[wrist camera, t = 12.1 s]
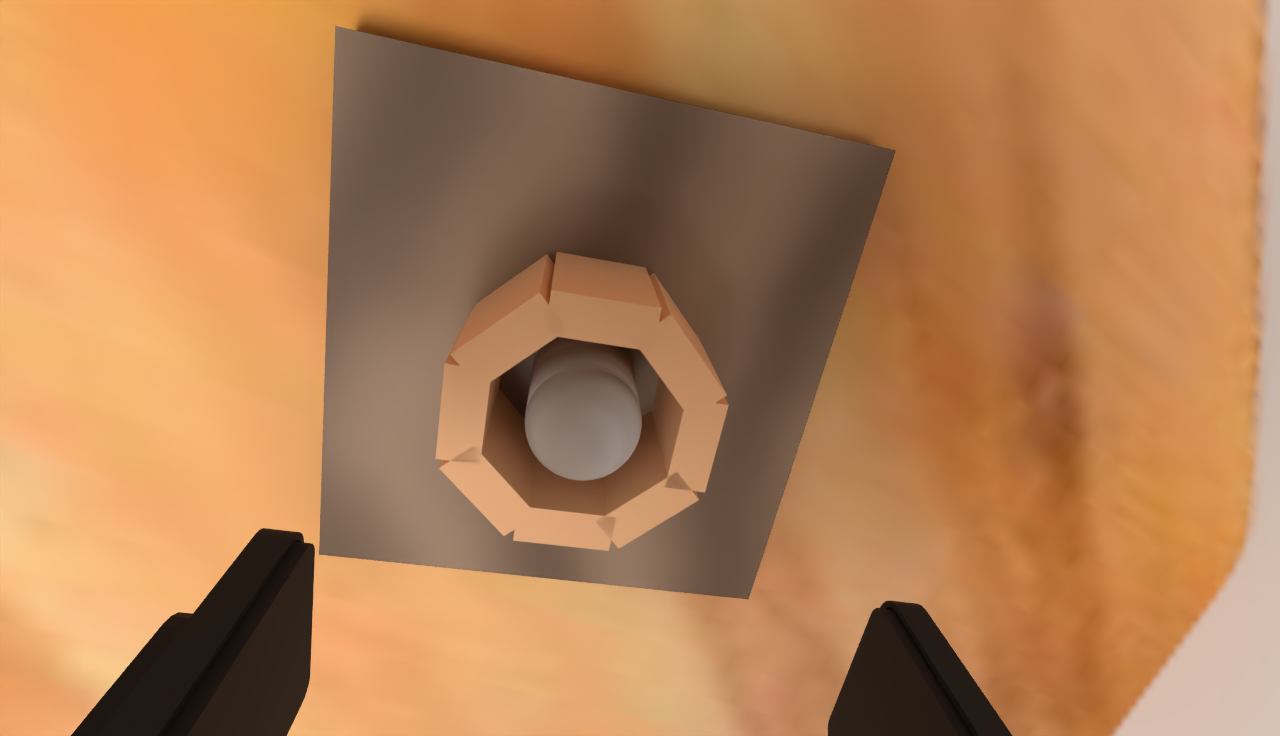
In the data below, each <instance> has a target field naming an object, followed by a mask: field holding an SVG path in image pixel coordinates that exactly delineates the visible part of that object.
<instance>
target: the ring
mask: <svg viewBox="0 0 1280 736" xmlns="http://www.w3.org/2000/svg"><path fill="white" fill-rule="evenodd" d="M556 337H562V338H568V339H575V340H581V341H588V342H594V343H600V344H607V345H613V346H620V347H626V348H633V349H639V350H641V352H642V353H643V355H644V356H645V357H646V359H647V360H648V361H649V363H650V364H651V366H652V367H653V368H654V370H655V371H656V372H657V374H658V375H659V380H658V385H657V389H656V394H655V398H654V402H653V407H652V410H651V411H650V412H648V413H647V414H645V415H644V416H642V428H641V434H640V438H639V441H638V444H637V446H636V448H635V450H634V452H633V453H632V455H631V456H630V458H629V459H628V460H627V461H626V462H625V463H624V464H623V465H622V466H621V467H620V468H618V469H617V470H616V471H614V472H613V473H611V474H609V475H607V476H604V477H602V478H598V479H594V480H585V481H580V480H572V479H567V478H564V477H561V476H559V475H557V474H555V473H553V472H552V471H550V470H549V469H547V468H546V467H545V466H544V465H543V464H542V463H541V462H540V461H539V460H538V459H537V457H536V456H535V455H534V453H533V451H532V450H531V448H530V446H529V443H528V440H527V437H526V432H525V418H524V417H523V416H522V415H521V414H520V413H519V411H518V410H517V409H516V408H515V407H514V406H513V404H512V403H511V402H510V401H509V400H508V399H507V397H506V396H505V395H504V394H503V393H502V391H501V390H500V389H499V386H500V378H501V375H502V374H503V373H505V372H506V371H508V370H509V369H510V368H512V367H513V366H515V365H516V364H518V363H519V362H521V361H522V360H524V359H525V358H527V357H528V356H530V355H531V354H533V353H534V352H536V351H537V350H539V349H540V348H542V347H543V346H545V345H546V344H547V343H549V342H550V341H552V340H553V339H555V338H556ZM725 396H727V394H726V392H725V390H724V388H723V386H722V384H721V382H720V380H719V378H718V376H717V374H716V372H715V370H714V368H713V366H712V364H711V362H710V360H709V358H708V356H707V354H706V352H705V350H704V348H703V346H702V344H701V342H700V340H699V338H698V337H697V335H696V334H695V332H694V331H693V330H692V328H691V327H690V325H689V324H688V322H687V321H686V319H685V318H684V316H683V315H682V313H681V312H680V310H679V309H678V307H677V306H676V305H675V303H674V302H673V300H672V299H671V297H670V296H669V294H668V293H667V291H666V290H665V288H664V287H663V285H662V284H661V283H660V281H659V280H658V278H657V277H656V275H655V274H654V273H652V274H651V275H649V274H648V272H647V269H646V267H640V266H635V265H629V264H623V263H617V262H612V261H606V260H600V259H595V258H589V257H583V256H578V255H572V254H566V253H561V252H557V253H556V260H555V264H554V262H553V261H552V260H551V258H550V257H549V256H548V254H546V255H545V256H543V257H542V258H541V259H539V260H538V261H536V262H535V263H533V264H532V265H531V266H529V267H528V268H526V269H525V270H523V271H522V272H521V273H519V274H518V275H516V276H515V277H513V278H512V279H511V280H509V281H508V282H506V283H505V284H503V285H502V286H501V287H499V288H498V289H496V290H495V291H493V292H492V293H491V294H489V295H488V296H486V297H485V298H484V299H482V300H481V301H479V302H478V303H476V304H475V305H474V307H473V309H472V311H471V312H470V314H469V316H468V318H467V320H466V322H465V324H464V326H463V328H462V330H461V332H460V334H459V336H458V338H457V340H456V342H455V344H454V346H453V348H452V350H451V352H450V354H449V356H448V358H447V360H446V362H445V364H444V374H443V385H442V395H441V405H440V416H439V426H438V437H437V447H436V458H435V459H440V460H442V461H441V464H440V466H439V469H440V470H441V471H442V472H443V473H444V474H445V475H446V476H447V477H448V478H449V479H450V480H451V481H452V483H453V484H454V485H455V486H456V487H457V488H458V489H459V490H460V491H461V492H462V493H463V494H464V495H465V496H466V497H467V498H468V499H469V500H470V501H471V502H472V503H473V505H474V506H475V507H476V508H477V509H478V510H479V511H480V512H481V513H482V514H483V515H484V516H485V517H486V518H487V519H488V520H489V521H490V522H491V523H492V524H493V525H494V527H495V528H496V529H497V530H498V531H499V532H500V533H501V534H502V535H503V536H505V535H507V534H508V533H510V532H511V531H513V530H514V537H513V541H521V542H531V543H540V544H549V545H559V546H568V547H577V548H586V549H596V550H605V551H609V548H610V544H611V540H612V542H613V543H614V544H615V545H616V546H617V547H618V548H621V547H623V546H624V545H626V544H627V543H629V542H631V541H632V540H634V539H636V538H637V537H639V536H641V535H642V534H644V533H646V532H647V531H649V530H651V529H652V528H654V527H655V526H657V525H659V524H660V523H662V522H664V521H665V520H667V519H669V518H670V517H672V516H674V515H675V514H677V513H678V512H680V511H682V510H683V509H685V508H687V507H688V506H690V505H692V504H693V503H695V502H697V501H698V500H699V498H698V495H697V492H696V491H698V492H705V491H706V487H707V483H708V480H709V476H710V472H711V469H712V465H713V461H714V457H715V454H716V450H717V446H718V443H719V439H720V435H721V432H722V428H723V424H724V421H725V417H726V413H727V410H728V406H729V405H728V403H727V401H726V399H725Z"/></svg>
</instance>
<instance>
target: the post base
mask: <svg viewBox="0 0 1280 736" xmlns="http://www.w3.org/2000/svg"><path fill="white" fill-rule="evenodd" d="M895 151H896V150H891V149H887V148H882V147H878V146H873V145H869V144H864V143H860V142H855V141H851V140H846V139H842V138H837V137H833V136H828V135H824V134H819V133H815V132H810V131H806V130H801V129H797V128H792V127H788V126H783V125H779V124H774V123H770V122H765V121H761V120H756V119H752V118H747V117H743V116H738V115H734V114H729V113H725V112H720V111H716V110H711V109H707V108H702V107H698V106H693V105H688V104H684V103H679V102H675V101H670V100H666V99H661V98H657V97H652V96H648V95H643V94H639V93H634V92H630V91H625V90H621V89H616V88H612V87H607V86H603V85H598V84H594V83H589V82H585V81H580V80H576V79H571V78H567V77H562V76H558V75H553V74H549V73H544V72H540V71H535V70H531V69H526V68H522V67H517V66H513V65H508V64H504V63H499V62H495V61H490V60H486V59H481V58H477V57H472V56H468V55H463V54H459V53H454V52H450V51H445V50H441V49H436V48H432V47H427V46H423V45H418V44H414V43H409V42H405V41H400V40H396V39H391V38H387V37H382V36H378V35H373V34H369V33H364V32H360V31H355V30H351V29H346V28H342V27H337V26H336V27H335V60H334V92H333V125H332V157H331V189H330V222H329V254H328V287H327V319H326V352H325V384H324V417H323V449H322V482H321V514H320V547H319V555H329V556H339V557H348V558H358V559H367V560H377V561H387V562H396V563H406V564H415V565H425V566H435V567H444V568H454V569H463V570H473V571H483V572H492V573H502V574H511V575H521V576H531V577H540V578H550V579H559V580H569V581H579V582H588V583H598V584H607V585H617V586H627V587H636V588H646V589H655V590H665V591H675V592H684V593H694V594H704V595H713V596H723V597H732V598H742V599H749V596H750V593H751V590H752V587H753V583H754V580H755V577H756V574H757V571H758V568H759V565H760V562H761V559H762V556H763V553H764V550H765V547H766V544H767V541H768V538H769V535H770V532H771V529H772V526H773V523H774V519H775V516H776V513H777V510H778V507H779V504H780V501H781V498H782V495H783V492H784V489H785V486H786V483H787V480H788V477H789V474H790V471H791V468H792V465H793V462H794V459H795V455H796V452H797V449H798V446H799V443H800V440H801V437H802V434H803V431H804V428H805V425H806V422H807V419H808V416H809V413H810V410H811V407H812V404H813V401H814V398H815V394H816V391H817V388H818V385H819V382H820V379H821V376H822V373H823V370H824V367H825V364H826V361H827V358H828V355H829V352H830V349H831V346H832V343H833V340H834V337H835V334H836V330H837V327H838V324H839V321H840V318H841V315H842V312H843V309H844V306H845V303H846V300H847V297H848V294H849V291H850V288H851V285H852V282H853V279H854V276H855V273H856V270H857V266H858V263H859V260H860V257H861V254H862V251H863V248H864V245H865V242H866V239H867V236H868V233H869V230H870V227H871V224H872V221H873V218H874V215H875V212H876V209H877V205H878V202H879V199H880V196H881V193H882V190H883V187H884V184H885V181H886V178H887V175H888V172H889V169H890V166H891V163H892V160H893V157H894V154H895ZM557 252H561V253H566V254H572V255H578V256H583V257H589V258H595V259H600V260H606V261H612V262H617V263H623V264H629V265H635V266H640V267H646V269H647V272H648V274H649V275H651V274H652V273H654V274H655V275H656V277H657V278H658V280H659V281H660V283H661V284H662V285H663V287H664V288H665V290H666V291H667V293H668V294H669V296H670V297H671V299H672V300H673V302H674V303H675V305H676V306H677V307H678V309H679V310H680V312H681V313H682V315H683V316H684V318H685V319H686V321H687V322H688V324H689V325H690V327H691V328H692V330H693V331H694V332H695V334H696V335H697V337H698V338H699V340H700V342H701V344H702V346H703V348H704V350H705V352H706V354H707V356H708V358H709V360H710V362H711V364H712V366H713V368H714V370H715V372H716V374H717V376H718V378H719V380H720V382H721V384H722V386H723V388H724V390H725V392H726V394H727V396H725V399H726V401H727V403H728V405H729V406H728V410H727V413H726V417H725V421H724V424H723V428H722V432H721V435H720V439H719V443H718V446H717V450H716V454H715V457H714V461H713V465H712V469H711V472H710V476H709V480H708V483H707V487H706V491H705V492H698V491H696V492H697V495H698V498H699V500H698V501H697V502H695V503H693V504H692V505H690V506H688V507H687V508H685V509H683V510H682V511H680V512H678V513H677V514H675V515H674V516H672V517H670V518H669V519H667V520H665V521H664V522H662V523H660V524H659V525H657V526H655V527H654V528H652V529H651V530H649V531H647V532H646V533H644V534H642V535H641V536H639V537H637V538H636V539H634V540H632V541H631V542H629V543H627V544H626V545H624V546H623V547H621V548H618V547H617V546H616V545H615V544H614V543H613V542H612V540H611V544H610V548H609V551H605V550H596V549H586V548H577V547H568V546H559V545H549V544H540V543H531V542H521V541H513V537H514V530H513V531H511V532H510V533H508V534H507V535H505V536H503V535H502V534H501V533H500V532H499V531H498V530H497V529H496V528H495V527H494V525H493V524H492V523H491V522H490V521H489V520H488V519H487V518H486V517H485V516H484V515H483V514H482V513H481V512H480V511H479V510H478V509H477V508H476V507H475V506H474V505H473V503H472V502H471V501H470V500H469V499H468V498H467V497H466V496H465V495H464V494H463V493H462V492H461V491H460V490H459V489H458V488H457V487H456V486H455V485H454V484H453V483H452V481H451V480H450V479H449V478H448V477H447V476H446V475H445V474H444V473H443V472H442V471H441V470H440V469H439V466H440V464H441V461H442V460H440V459H435V458H436V447H437V437H438V426H439V416H440V405H441V395H442V385H443V374H444V364H445V362H446V360H447V358H448V356H449V354H450V352H451V350H452V348H453V346H454V344H455V342H456V340H457V338H458V336H459V334H460V332H461V330H462V328H463V326H464V324H465V322H466V320H467V318H468V316H469V314H470V312H471V311H472V309H473V307H474V305H475V304H476V303H478V302H479V301H481V300H482V299H484V298H485V297H486V296H488V295H489V294H491V293H492V292H493V291H495V290H496V289H498V288H499V287H501V286H502V285H503V284H505V283H506V282H508V281H509V280H511V279H512V278H513V277H515V276H516V275H518V274H519V273H521V272H522V271H523V270H525V269H526V268H528V267H529V266H531V265H532V264H533V263H535V262H536V261H538V260H539V259H541V258H542V257H543V256H545V255H546V254H548V256H549V257H550V258H551V260H552V261H553V262H554V264H555V260H556V253H557ZM658 380H659V375H658V374H657V372H656V371H655V370H654V368H653V367H652V366H651V364H650V363H649V361H648V360H647V359H646V357H645V356H644V355H643V353H642V352H641V350H639V349H633V348H626V347H620V346H613V345H607V344H600V343H594V342H588V341H581V340H575V339H568V338H562V337H556V338H555V339H553V340H552V341H550V342H549V343H547V344H546V345H545V346H543V347H542V348H540V349H539V350H537V351H536V352H534V353H533V354H531V355H530V356H528V357H527V358H525V359H524V360H522V361H521V362H519V363H518V364H516V365H515V366H513V367H512V368H510V369H509V370H508V371H506V372H505V373H503V374H502V375H501V378H500V386H499V389H500V390H501V391H502V393H503V394H504V395H505V396H506V397H507V399H508V400H509V401H510V402H511V403H512V404H513V406H514V407H515V408H516V409H517V410H518V411H519V413H520V414H521V415H522V416H523V417H524V418H525V432H526V437H527V440H528V443H529V446H530V448H531V450H532V451H533V453H534V455H535V456H536V457H537V459H538V460H539V461H540V462H541V463H542V464H543V465H544V466H545V467H546V468H547V469H549V470H550V471H552V472H553V473H555V474H557V475H559V476H561V477H564V478H567V479H572V480H580V481H585V480H594V479H598V478H602V477H604V476H607V475H609V474H611V473H613V472H614V471H616V470H617V469H618V468H620V467H621V466H622V465H623V464H624V463H625V462H626V461H627V460H628V459H629V458H630V456H631V455H632V453H633V452H634V450H635V448H636V446H637V444H638V441H639V438H640V434H641V428H642V416H644V415H645V414H647V413H648V412H650V411H651V410H652V407H653V402H654V398H655V394H656V389H657V385H658Z"/></svg>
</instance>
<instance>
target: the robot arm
mask: <svg viewBox="0 0 1280 736" xmlns="http://www.w3.org/2000/svg"><path fill="white" fill-rule="evenodd" d="M314 556H315V549H314V545H313V544H310V543H304V538H303V535H302V534H301V533H300V532H291V531H282V530H274V529H265V528H263V529H260V530H259V531H258V532H257V533H256V534H255V535H254V537H253V538H252V539H251V541H250V542H249V543H248V544H247V546H246V547H245V548H244V549H243V551H242V552H241V553H240V555H239V556H238V557H237V558H236V560H235V561H234V562H233V564H232V565H231V566H230V567H229V569H228V570H227V571H226V572H225V574H224V575H223V576H222V578H221V579H220V580H219V581H218V583H217V584H216V585H215V587H214V588H213V589H212V590H211V592H210V593H209V594H208V595H207V597H206V598H205V599H204V601H203V602H202V603H201V604H200V606H199V607H198V608H197V610H196V611H195V612H194V613H193V614H190V613H179V612H178V613H176V614H174V615H172V616H171V617H170V618H169V619H168V620H167V621H166V622H165V623H164V624H163V625H162V626H161V627H160V628H159V629H158V631H157V632H156V633H155V634H154V636H153V637H152V638H151V639H150V640H149V642H148V643H147V644H146V645H145V646H144V648H143V649H142V650H141V651H140V652H139V654H138V655H137V656H136V657H135V659H134V660H133V661H132V662H131V663H130V665H129V666H128V667H127V668H126V669H125V671H124V672H123V673H122V674H121V675H120V677H119V678H118V679H117V680H116V682H115V683H114V684H113V685H112V686H111V688H110V689H109V690H108V691H107V692H106V694H105V695H104V696H103V697H102V698H101V700H100V701H99V702H98V703H97V705H96V706H95V707H94V708H93V709H92V711H91V712H90V713H89V714H88V715H87V717H86V718H85V719H84V720H83V721H82V723H81V724H80V725H79V726H78V728H77V729H76V730H75V731H74V732H73V734H72V735H71V736H287V734H288V732H289V730H290V727H291V725H292V723H293V721H294V719H295V717H296V715H297V713H298V711H299V709H300V707H301V704H302V702H303V700H304V698H305V695H306V692H307V688H308V684H309V679H310V663H311V636H312V609H313V583H314ZM828 736H1012V735H1011V733H1010V732H1009V730H1008V729H1007V727H1006V726H1005V724H1004V723H1003V721H1002V720H1001V719H1000V717H999V716H998V714H997V713H996V711H995V710H994V708H993V707H992V705H991V704H990V703H989V701H988V700H987V698H986V697H985V695H984V694H983V692H982V691H981V689H980V688H979V687H978V685H977V684H976V682H975V681H974V679H973V678H972V676H971V675H970V674H969V672H968V671H967V669H966V668H965V666H964V665H963V663H962V662H961V660H960V659H959V658H958V656H957V655H956V653H955V652H954V650H953V649H952V647H951V646H950V644H949V643H948V642H947V640H946V639H945V637H944V636H943V634H942V633H941V631H940V630H939V628H938V627H937V626H936V624H935V623H934V621H933V620H932V618H931V617H930V615H929V614H928V613H927V611H926V610H925V609H924V608H923V607H922V606H921V605H919V604H914V603H905V602H896V601H886V602H884V603H883V604H882V606H881V607H880V608H876V609H875V610H873V612H872V614H871V616H870V618H869V621H868V623H867V626H866V628H865V631H864V633H863V636H862V638H861V641H860V643H859V646H858V649H857V651H856V654H855V656H854V659H853V661H852V664H851V666H850V669H849V671H848V674H847V676H846V679H845V681H844V684H843V686H842V689H841V691H840V694H839V696H838V699H837V701H836V704H835V706H834V709H833V711H832V714H831V716H830V719H829V723H828Z"/></svg>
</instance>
